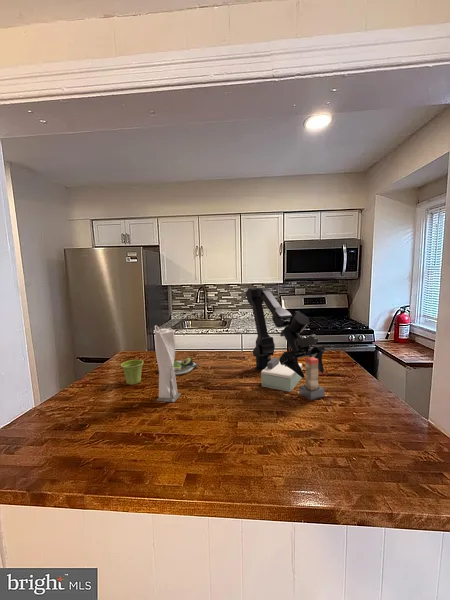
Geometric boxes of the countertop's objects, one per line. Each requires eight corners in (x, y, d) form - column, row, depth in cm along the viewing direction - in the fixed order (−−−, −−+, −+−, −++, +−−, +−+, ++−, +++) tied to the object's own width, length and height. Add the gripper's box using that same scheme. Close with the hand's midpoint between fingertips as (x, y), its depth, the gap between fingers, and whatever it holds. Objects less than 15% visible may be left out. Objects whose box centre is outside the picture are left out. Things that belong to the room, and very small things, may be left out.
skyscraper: (153, 400, 107) (148, 327, 104) (162, 391, 115) (158, 323, 112) (174, 402, 105) (169, 327, 102) (182, 392, 113) (178, 323, 110)
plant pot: (145, 384, 123) (144, 364, 122) (122, 388, 120) (121, 368, 119) (143, 376, 132) (142, 358, 131) (121, 380, 129) (120, 361, 128)
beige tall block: (305, 394, 108) (305, 358, 106) (312, 392, 109) (312, 356, 108) (311, 397, 105) (311, 360, 103) (318, 395, 106) (318, 359, 105)
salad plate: (184, 380, 127) (183, 370, 126) (150, 376, 133) (149, 366, 133) (202, 365, 145) (201, 357, 145) (171, 363, 151) (171, 354, 151)
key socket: (299, 393, 109) (299, 385, 108) (312, 390, 111) (312, 382, 111) (311, 400, 103) (310, 392, 102) (324, 396, 105) (324, 388, 105)
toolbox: (261, 386, 117) (261, 374, 116) (276, 373, 130) (275, 362, 130) (290, 391, 110) (290, 379, 110) (302, 377, 124) (302, 366, 123)
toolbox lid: (261, 373, 116) (261, 365, 116) (275, 362, 130) (275, 354, 129) (290, 378, 110) (289, 369, 109) (302, 365, 123) (302, 358, 123)
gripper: (283, 330, 105) (303, 369, 96) (322, 325, 112) (344, 359, 103) (271, 347, 113) (289, 383, 104) (308, 340, 120) (328, 374, 111)
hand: (313, 374), depth 105 cm, fingers open, 9 cm apart
